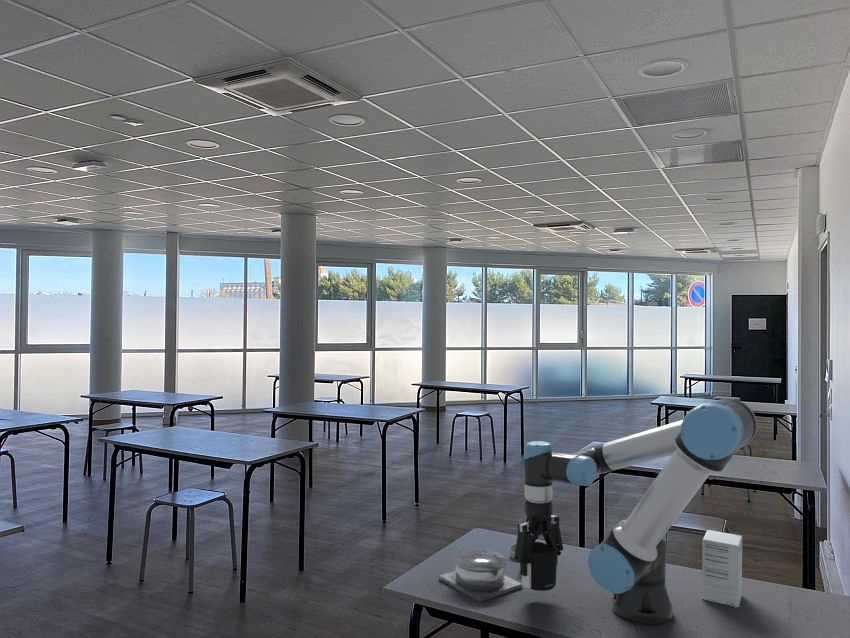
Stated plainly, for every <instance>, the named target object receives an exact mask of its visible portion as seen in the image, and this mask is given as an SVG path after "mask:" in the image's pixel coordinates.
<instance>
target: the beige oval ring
mask: <svg viewBox="0 0 850 638" xmlns="http://www.w3.org/2000/svg"><path fill="white" fill-rule="evenodd" d="M516 543H517V541H515V543H513V544H512V545H510V547H509V557H510V558H511V559H513V560H514V556H515V549H516Z"/></svg>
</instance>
